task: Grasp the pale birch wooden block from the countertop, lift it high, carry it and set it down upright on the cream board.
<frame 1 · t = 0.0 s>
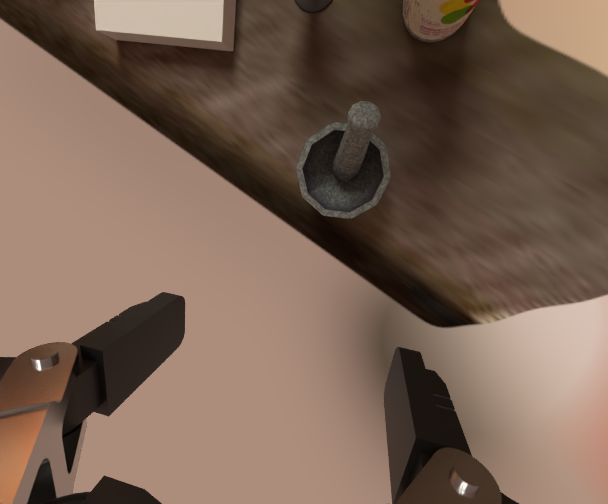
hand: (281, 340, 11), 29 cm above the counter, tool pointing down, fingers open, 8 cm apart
mortar and pestle: (348, 165, 37), on the counter
aerosol can: (436, 5, 30), on the counter
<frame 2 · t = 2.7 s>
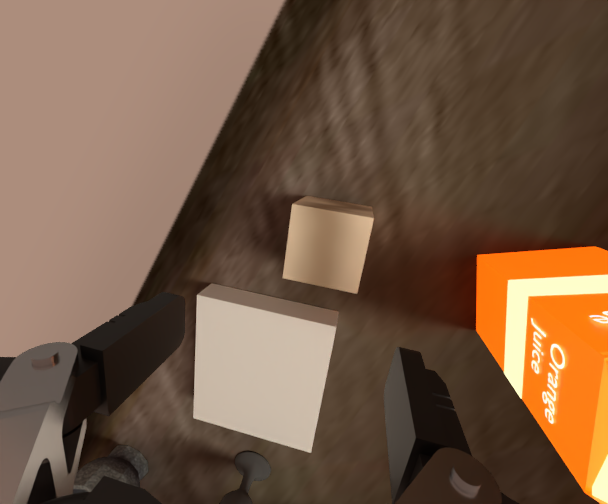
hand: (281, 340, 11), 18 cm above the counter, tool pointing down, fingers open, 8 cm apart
sundae: (253, 464, 39), on the counter
mortar and pestle: (135, 462, 44), on the counter
birch block: (333, 232, 28), on the counter
orange juice: (529, 290, 26), on the counter
cream board: (265, 359, 33), on the counter
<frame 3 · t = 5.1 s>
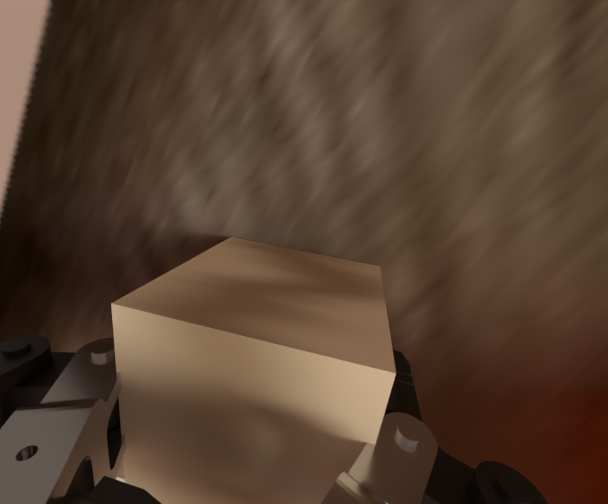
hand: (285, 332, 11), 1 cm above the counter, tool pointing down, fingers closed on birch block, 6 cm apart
birch block: (293, 317, 12), on the counter, touching gripper
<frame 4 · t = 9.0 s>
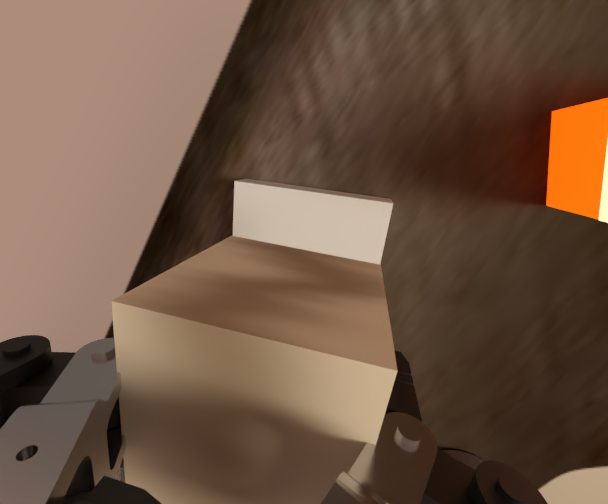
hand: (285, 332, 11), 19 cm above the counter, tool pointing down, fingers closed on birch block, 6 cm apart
birch block: (293, 316, 12), point 18 cm above the counter, touching gripper
cream board: (306, 265, 31), on the counter
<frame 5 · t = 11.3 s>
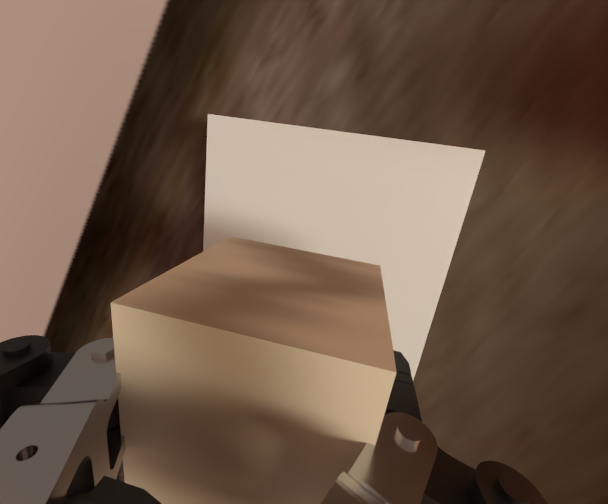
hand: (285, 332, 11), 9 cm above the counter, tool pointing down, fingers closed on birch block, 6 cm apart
birch block: (293, 317, 12), point 8 cm above the counter, touching gripper
cream board: (320, 261, 20), on the counter
when the fingers open (6 cm above the counter, at t = 13.0 s): birch block drops 1 cm, resting on cream board.
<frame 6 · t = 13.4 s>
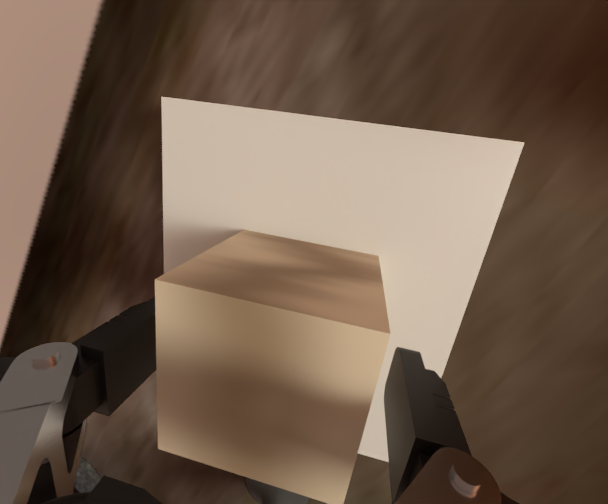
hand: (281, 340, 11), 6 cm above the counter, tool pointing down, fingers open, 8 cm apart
sundae: (278, 483, 22), on the counter
mortar and pestle: (81, 476, 27), on the counter
birch block: (299, 303, 14), point 3 cm above the counter, touching cream board
cream board: (310, 279, 17), on the counter
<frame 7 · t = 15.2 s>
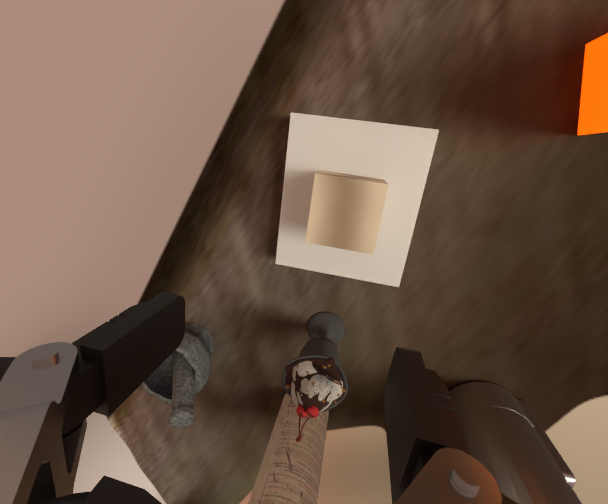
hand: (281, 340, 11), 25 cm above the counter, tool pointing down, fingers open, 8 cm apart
sundae: (326, 328, 39), on the counter
mortar and pestle: (200, 342, 44), on the counter
birch block: (347, 204, 30), point 3 cm above the counter, touching cream board
aerosol can: (306, 402, 43), on the counter
cream board: (348, 200, 33), on the counter
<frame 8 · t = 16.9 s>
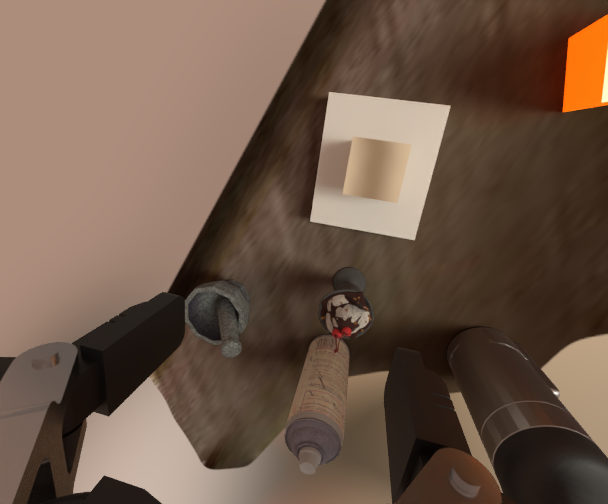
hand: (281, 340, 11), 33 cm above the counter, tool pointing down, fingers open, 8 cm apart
sundae: (349, 282, 45), on the counter
mortar and pestle: (236, 297, 50), on the counter
birch block: (373, 169, 37), point 3 cm above the counter, touching cream board
aerosol can: (329, 351, 49), on the counter
cream board: (372, 168, 40), on the counter
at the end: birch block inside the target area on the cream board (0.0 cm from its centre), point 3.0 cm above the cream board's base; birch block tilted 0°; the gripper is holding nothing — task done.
